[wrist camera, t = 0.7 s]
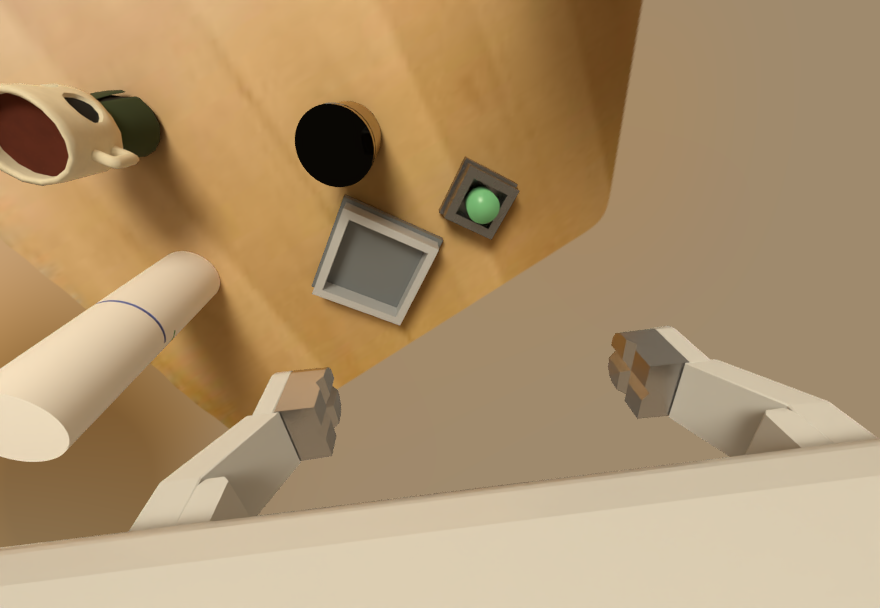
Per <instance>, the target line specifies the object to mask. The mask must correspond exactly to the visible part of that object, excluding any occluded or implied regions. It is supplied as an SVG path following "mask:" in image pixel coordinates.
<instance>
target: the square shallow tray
mask: <svg viewBox="0 0 880 608" xmlns="http://www.w3.org/2000/svg"><path fill="white" fill-rule="evenodd" d="M442 242H443V238H442V237H439V236H437V235H435V234H433V233H430V232H428V231H426V230H424V229H421V228H419V227H417V226H415V225H413V224H410V223H408V222H406V221H404V220H401V219H399V218H397V217H395V216H392V215H390V214H388V213H386V212H383V211H381V210H379V209H377V208H375V207H372V206H370V205H368V204H366V203H363V202H361V201H359V200H357V199H354V198H352V197H350V196H348V195H345V196H344V198H343V201H342V203H341V206H340V209H339V212H338V214H337V217H336V220H335V223H334V226H333V228H332V231H331V234H330V237H329V239H328V242H327V245H326V248H325V251H324V253H323V256H322V259H321V262H320V264H319V267H318V270H317V273H316V276H315V278H314V281H313V284H312V287H314V290H313V293H312V294H314V295H317V296H320V297H322V298H325V299H328V300H331V301H333V302H336V303H339V304H342V305H345V306H347V307H350V308H353V309H356V310H358V311H361V312H364V313H367V314H369V315H372V316H375V317H378V318H381V319H383V320H386V321H389V322H392V323H394V324H397V325H401V323H402V321H403V319H404V317H405V315H406V313H407V311H408V309H409V307H410V305H411V303H412V301H413V299H414V297H415V296H416V294H417V292H418V290H419V288H420V286H421V284H422V282H423V280H424V278H425V276H426V274H427V272H428V270H429V268H430V266H431V264H432V262H433V261H434V259H435V257H436V255H437V253H438V251H439V247H440V245H441V243H442Z"/></svg>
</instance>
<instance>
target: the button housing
mask: <svg viewBox="0 0 880 608" xmlns="http://www.w3.org/2000/svg"><path fill="white" fill-rule="evenodd" d="M476 187H486V188H488V189H490V190H491V191H492V192H493V193H494V195H495V196H496V197H497V199H498V201H499V204H500V209H499V213H498V215H497V216H496V218H495V219H494V220H492V221H491V222H489V223H486V224H479V223H476V222H474V221H473V220H472V219H471V218H470V217H469V215H468V212H467V210H466V208H465V198H466V196H467V194H468V193H469V192H470V191H471V190H472V189H473V188H476ZM516 187H517V184H516V183H515V182H513V181H511V180H509V179H507V178H505V177H503V176H501V175H500V174H498V173H496V172H494V171H492V170H490V169H488V168H486V167H484V166H482V165H481V164H479V163H477V162H475V161H473V160H471V159H469V158H467V157H465V158H464V160H463V162H462V164H461V166H460V168H459V170H458V172H457V174H456V176H455V178H454V180H453V182H452V184H451V186H450V188H449V190H448V192H447V195H446V197H445V199H444V201H443V203H442V205H441V207H440V209H439V213H441V214H443V215H444V218H446V219H448V220H450V221H452V222H454V223H456V224H459V225H461V226H463V227H465V228H467V229H469V230H471V231H474V232H476V233H478V234H480V235H482V236H484V237H486V238H489V239H491V240H492V238H493V236H494V234H495V233H496V231H497V229H498V227H499V226H500V224H501V222H502V221H503V219H504V217H505V215H506V214H507V212H508V210H509V208H510V207H511V205H512V203H513V201H514V200H515V198H516V196H517V195H518V193H519V190H518V189H517V188H516Z"/></svg>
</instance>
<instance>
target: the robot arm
mask: <svg viewBox="0 0 880 608" xmlns="http://www.w3.org/2000/svg"><path fill="white" fill-rule="evenodd" d="M611 345H612V346H613V348H614V349H615V350H616V351H615V352H614V353H613V354H612V355H611V356H610V357H609V363H608V369H609V376H610V378H611V381H612V383H613V384H614V386H615V387H616V389H617V390H619V391H621V392H623V393H625V394H626V397H625V402H626V403H627V405H628V406H629V407H630V409H631V410H632V412H633V413H634V415H635V416H636V417H637V419H638V418H648V417H660V416H669V418H671V419H672V420H674V421H676V422H677V423H679V424H680V425H682V426H683V427H685V428H687V429H688V430H689V431H691V432H693V433H694V434H695V435H697V436H699V437H700V438H702V439H703V440H705V441H706V442H708V443H709V444H711V445H712V446H714V447H716V448H717V449H719V450H720V451H722V452H723V453H725V454H727V455H728V456H729V457H725V458H717V459H709V460H701V461H693V462H685V463H677V464H669V465H661V466H653V467H644V468H637V469H629V470H621V471H613V472H604V473H596V474H588V475H580V476H572V477H564V478H556V479H548V480H540V481H532V482H524V483H516V484H507V485H500V486H492V487H484V488H475V489H467V490H460V491H451V492H444V493H436V494H427V495H420V496H412V497H403V498H395V499H387V500H379V501H372V502H363V503H355V504H347V505H339V506H331V507H323V508H315V509H308V510H300V511H291V512H283V513H275V514H267V515H260V516H257V515H258V514H259V513H260V511H261V510H262V509H263V508H264V507H265V505H266V504H267V503H268V502H269V501H270V499H271V498H272V497H273V496H274V494H275V493H276V492H277V491H278V490H279V488H280V487H281V486H282V485H283V483H284V482H285V481H286V480H287V478H288V477H289V476H290V475H291V474H292V472H293V471H294V470H295V469H296V467H297V466H298V465H299V464H300V461H302V460H309V459H316V458H322V457H329V456H332V454H333V449H334V444H335V440H336V433H335V431H334V428H335V426H337V424H339V421H340V416H341V402H340V396H339V393H338V390H337V389H336V388H334V387H333V386H332V384H333V380H334V377H333V374H332V371H331V369H330V368H328V367H326V368H315V369H305V370H295V371H287V372H278V373H275V374H273V375H272V376H271V378H270V380H269V382H268V384H267V386H266V388H265V391H264V393H263V395H262V397H261V399H260V401H259V403H258V405H257V407H256V409H255V411H254V413H253V415H251V416H246V417H245V418H244V419H242V420H241V421H240V422H238V423H237V424H236V425H234V426H233V427H232V428H231V429H229V430H228V431H227V432H225V433H224V434H223V435H222V436H220V437H219V438H218V439H216V440H215V441H214V442H212V443H211V444H210V445H209V446H207V447H206V448H205V449H203V450H202V451H201V452H199V453H198V454H197V455H196V456H194V457H193V458H192V459H190V460H189V461H188V462H186V463H185V464H184V465H183V466H181V467H180V468H179V469H178V470H176V471H175V472H174V473H172V474H171V475H170V476H168V477H167V478H166V479H165V480H163V481H162V482H161V483H160V484H159V485H158V487H157V488H156V490H155V492H154V493H153V495H152V496H151V498H150V499H149V501H148V502H147V504H146V505H145V507H144V508H143V510H142V512H141V513H140V515H139V516H138V518H137V519H136V521H135V522H134V524H133V526H132V527H131V529H130V530H129V532H122V533H114V534H106V535H98V536H91V537H82V538H74V539H66V540H59V541H50V542H42V543H35V544H27V545H19V546H10V547H2V548H0V608H880V438H877V437H876V436H874V435H873V434H872V433H871V432H869V431H868V430H866V429H865V428H864V427H862V426H861V425H860V424H858V423H857V422H855V421H854V420H853V419H852V418H850V417H849V416H848V415H846V414H845V413H843V412H842V411H841V410H839V409H838V408H837V407H835V406H834V405H833V404H831V403H830V402H829V401H826V400H823V399H821V398H818V397H815V396H812V395H810V394H807V393H805V392H802V391H799V390H796V389H794V388H791V387H789V386H786V385H783V384H781V383H778V382H775V381H772V380H770V379H767V378H765V377H762V376H759V375H757V374H754V373H751V372H749V371H746V370H743V369H741V368H738V367H735V366H733V365H730V364H727V363H725V362H722V361H719V360H716V359H715V360H710V359H709V358H708V357H706V356H705V355H704V354H703V353H702V352H701V351H700V350H698V349H697V348H696V347H695V346H694V345H693V344H692V343H691V342H689V341H688V340H687V339H686V338H685V337H684V336H683V335H682V334H680V333H679V332H678V331H677V330H676V329H675V328H673V327H671V326H663V327H657V328H651V329H645V330H637V331H630V332H622V333H615V335H614V337H613V340H612V344H611Z"/></svg>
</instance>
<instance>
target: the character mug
mask: <svg viewBox="0 0 880 608" xmlns="http://www.w3.org/2000/svg"><path fill="white" fill-rule="evenodd" d="M123 92H124V91H122V90H111V91H102V92H95V93H91V94H89V93H87V92H85V91H83V90H80V89H77V88H74V87H70V86H65V85H60V84H43V85H31V84H23V83H15V84H0V170H1V171H3V172H5V173H7V174H9V175H11V176H12V177H14V178H16V179H18V180H20V181H22V182H26V183H31V184H36V185H41V186H44V185H51V184H57V183H64V182H68V181H72V180H75V179H79V178H83V177H87V176H90V175H94V174H98V173H101V172H105V171H108V170H109V169H111V168H115V169H122V168H125V167H129V166H133V165H136V164H137V162H138V161H139V158H138V157H144V156H147V155H149V154H150V153H152V152H154V151H155V150H156V148H157V145H158V143H159V141H160V124H159V123H158V121H157V119H156V117H155V115H154V113H153V111H152V110H151V109H150V108H149V107H148V106H147V105H146V104H145V103H144V102H143V101H142V100H141V99H140V98H138V97H127V98H125V97H119V96H113V95H112V94H117V93H123Z"/></svg>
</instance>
